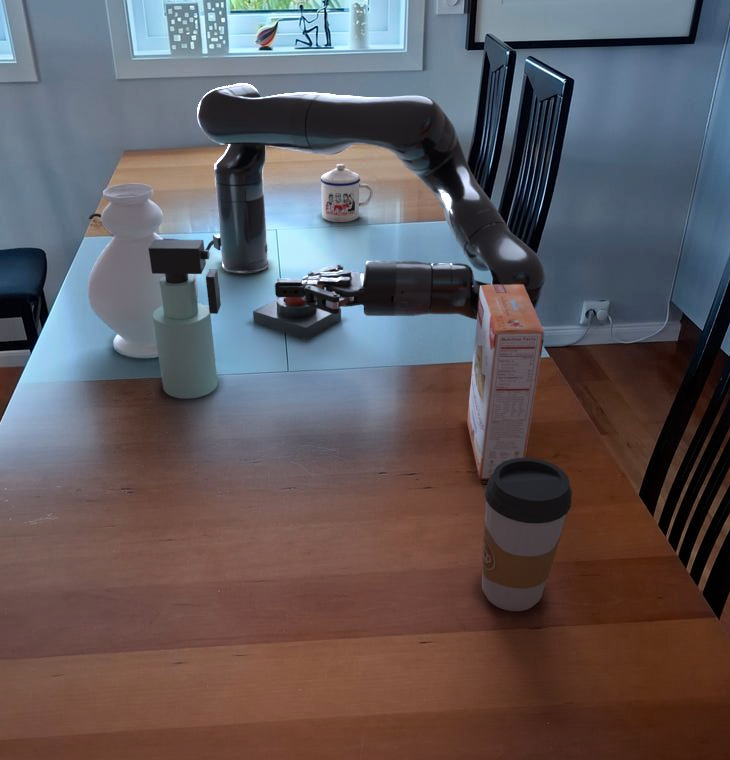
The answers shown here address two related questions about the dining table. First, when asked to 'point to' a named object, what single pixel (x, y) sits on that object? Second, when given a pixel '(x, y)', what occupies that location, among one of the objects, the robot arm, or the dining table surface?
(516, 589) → the coffee cup
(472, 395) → the cracker box
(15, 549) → the dining table surface
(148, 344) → the decorative vase
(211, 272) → the trigger
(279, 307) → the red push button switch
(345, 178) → the teacup with lid
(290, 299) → the button
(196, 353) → the spray bottle
